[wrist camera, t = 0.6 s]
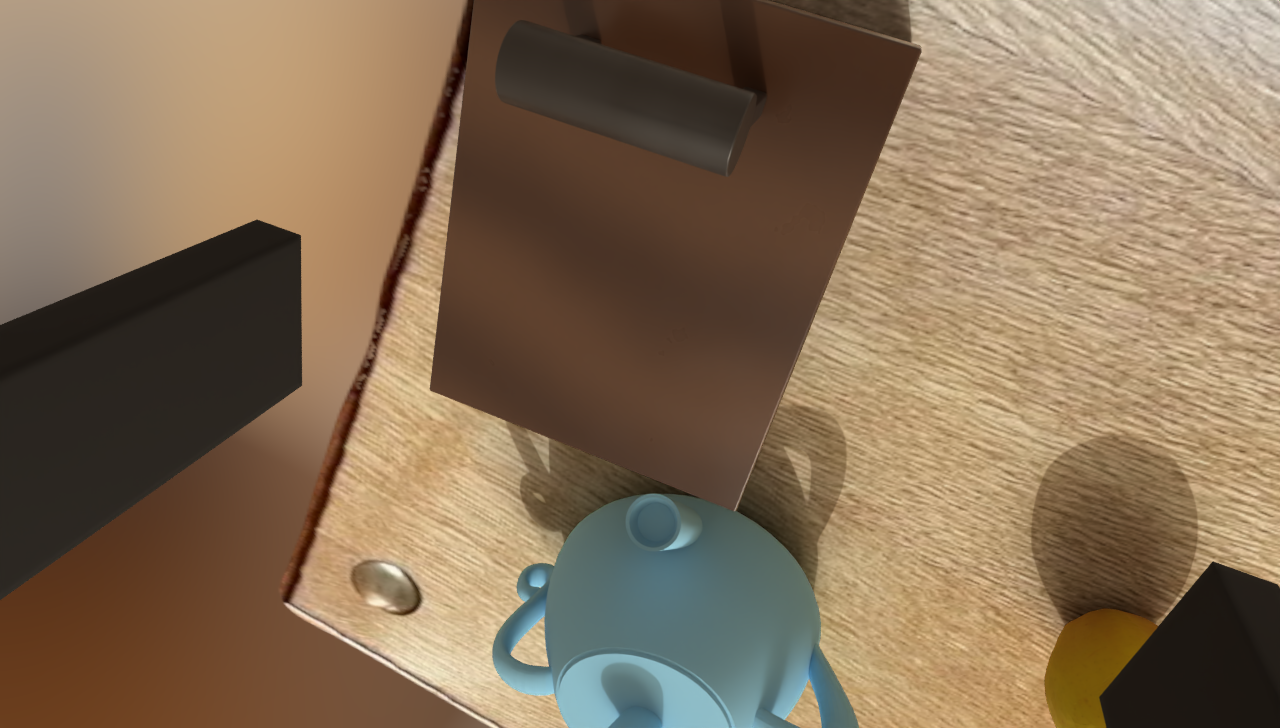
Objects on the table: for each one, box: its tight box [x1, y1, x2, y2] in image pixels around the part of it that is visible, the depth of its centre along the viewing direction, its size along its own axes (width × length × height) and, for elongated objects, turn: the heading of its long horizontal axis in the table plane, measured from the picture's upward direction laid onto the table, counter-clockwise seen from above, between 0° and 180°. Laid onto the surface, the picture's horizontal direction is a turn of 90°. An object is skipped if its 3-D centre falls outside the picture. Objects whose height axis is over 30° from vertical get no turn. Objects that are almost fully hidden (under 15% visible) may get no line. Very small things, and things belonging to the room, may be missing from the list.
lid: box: [430, 0, 921, 511], centre depth 24 cm, size 16×13×6 cm
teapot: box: [493, 494, 859, 728], centre depth 39 cm, size 15×17×11 cm
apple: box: [1044, 608, 1158, 728], centre depth 34 cm, size 6×6×8 cm
